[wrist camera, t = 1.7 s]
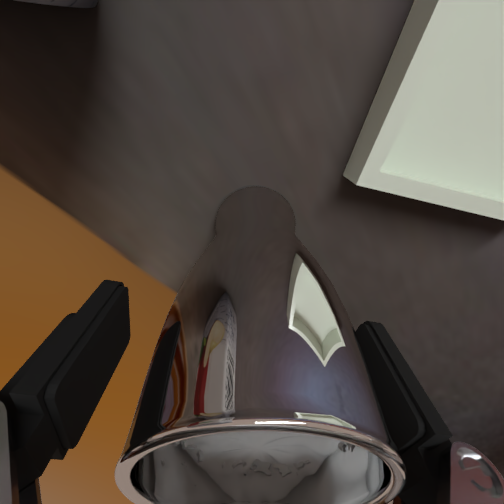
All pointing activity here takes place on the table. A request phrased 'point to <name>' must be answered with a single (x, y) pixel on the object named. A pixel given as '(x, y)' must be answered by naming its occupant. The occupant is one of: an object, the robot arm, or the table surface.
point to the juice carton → (65, 3)
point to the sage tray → (440, 110)
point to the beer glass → (259, 381)
